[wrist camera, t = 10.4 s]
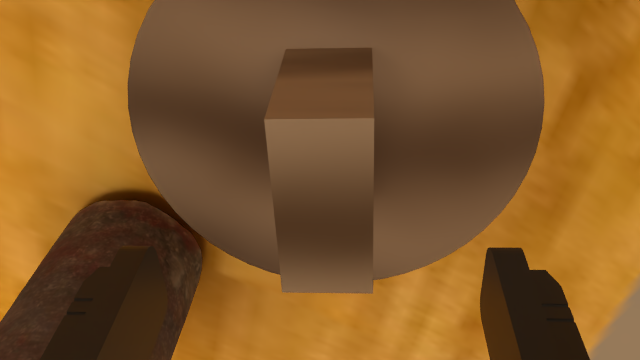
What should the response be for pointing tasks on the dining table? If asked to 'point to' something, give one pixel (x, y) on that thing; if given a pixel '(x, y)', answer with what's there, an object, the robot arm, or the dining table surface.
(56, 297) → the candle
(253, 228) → the lid
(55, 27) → the dining table surface
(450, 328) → the dining table surface
